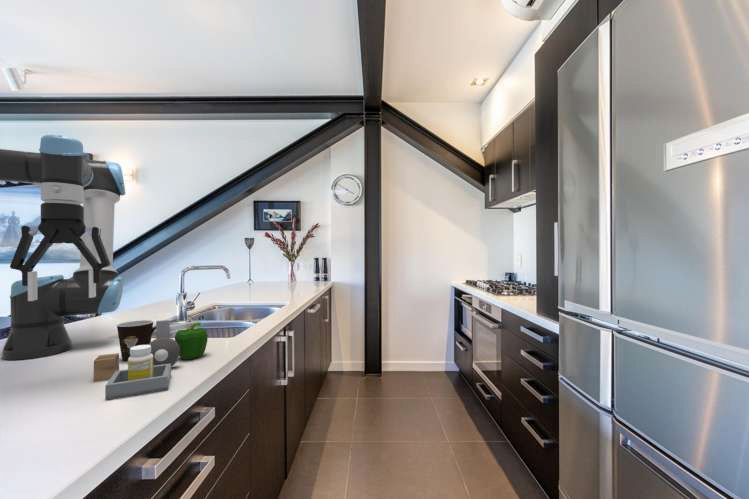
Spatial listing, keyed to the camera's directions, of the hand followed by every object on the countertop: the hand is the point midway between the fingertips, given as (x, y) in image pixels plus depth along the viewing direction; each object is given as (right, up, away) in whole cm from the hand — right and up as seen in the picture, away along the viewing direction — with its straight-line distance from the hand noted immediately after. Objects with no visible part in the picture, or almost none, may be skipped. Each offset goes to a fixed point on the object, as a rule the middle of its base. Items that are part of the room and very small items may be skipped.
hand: (63, 298), depth 81 cm
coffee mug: (+6, -20, +18) cm, 28 cm away
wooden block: (+7, -20, +4) cm, 21 cm away
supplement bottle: (+20, -19, -3) cm, 28 cm away
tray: (+20, -19, -3) cm, 28 cm away
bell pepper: (+20, -20, +19) cm, 34 cm away
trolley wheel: (+17, -20, +10) cm, 28 cm away
